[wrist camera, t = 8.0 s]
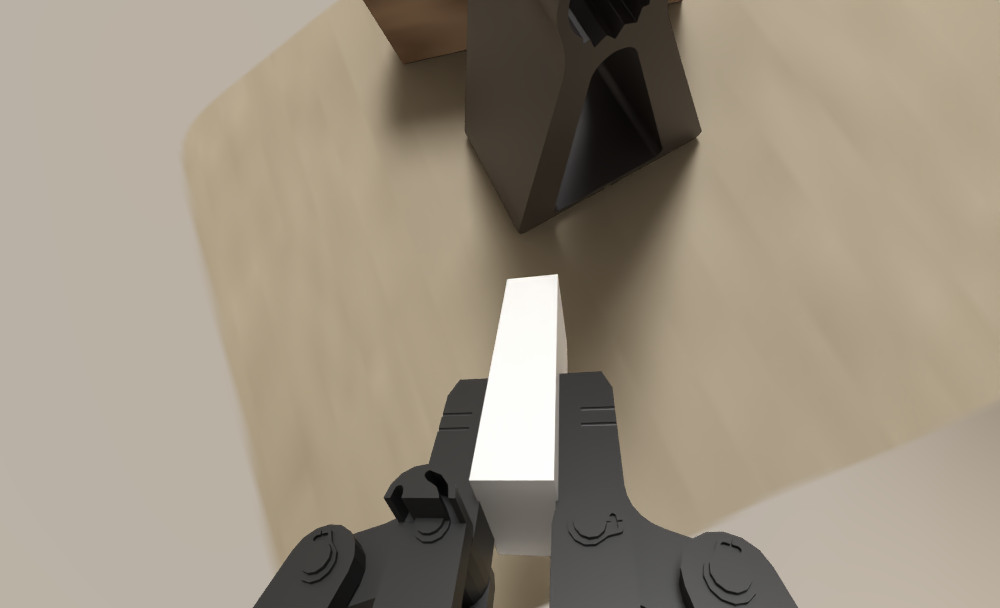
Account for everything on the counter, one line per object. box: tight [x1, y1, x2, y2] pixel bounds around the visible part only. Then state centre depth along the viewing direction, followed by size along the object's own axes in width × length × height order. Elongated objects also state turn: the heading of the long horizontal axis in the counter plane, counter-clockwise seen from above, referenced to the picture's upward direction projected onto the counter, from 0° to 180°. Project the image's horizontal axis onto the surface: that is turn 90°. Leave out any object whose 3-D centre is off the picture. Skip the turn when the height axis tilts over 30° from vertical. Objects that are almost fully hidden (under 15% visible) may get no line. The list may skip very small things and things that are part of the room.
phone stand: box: [465, 0, 701, 233], centre depth 14 cm, size 9×6×12 cm, turn 116°
